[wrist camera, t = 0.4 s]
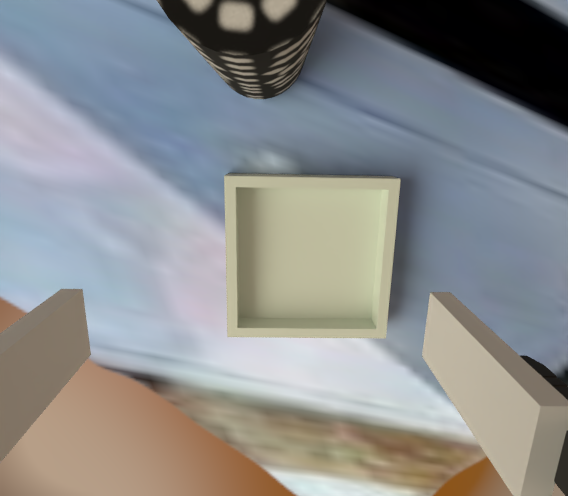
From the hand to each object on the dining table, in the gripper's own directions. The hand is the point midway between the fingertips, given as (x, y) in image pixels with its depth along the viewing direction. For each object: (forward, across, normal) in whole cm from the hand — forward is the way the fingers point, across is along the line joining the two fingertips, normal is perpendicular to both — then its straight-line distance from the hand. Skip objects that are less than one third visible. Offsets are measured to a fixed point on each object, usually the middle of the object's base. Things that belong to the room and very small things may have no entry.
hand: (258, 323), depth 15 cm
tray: (+26, +4, -5) cm, 26 cm away
